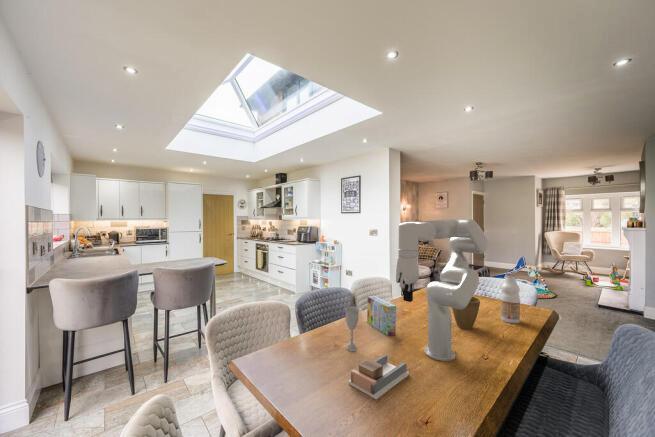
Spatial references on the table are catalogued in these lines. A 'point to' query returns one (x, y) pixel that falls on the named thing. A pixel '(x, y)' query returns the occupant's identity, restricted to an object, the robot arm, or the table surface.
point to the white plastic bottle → (510, 300)
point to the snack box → (381, 315)
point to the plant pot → (467, 314)
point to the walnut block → (371, 369)
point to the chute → (382, 384)
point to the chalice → (351, 324)
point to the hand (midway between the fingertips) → (408, 300)
